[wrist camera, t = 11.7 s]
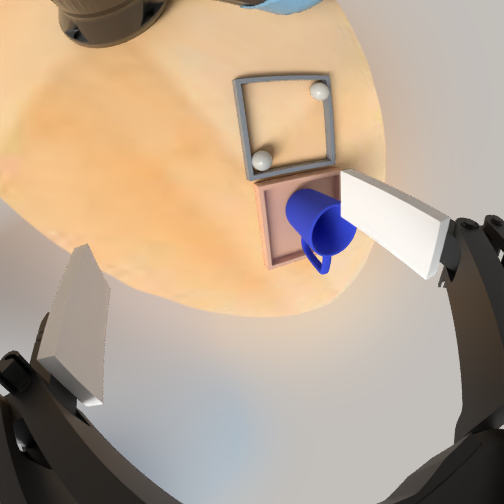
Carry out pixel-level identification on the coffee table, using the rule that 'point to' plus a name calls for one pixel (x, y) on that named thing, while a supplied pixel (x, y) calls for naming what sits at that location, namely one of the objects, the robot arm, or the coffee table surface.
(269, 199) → the terracotta dish
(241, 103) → the slate bin
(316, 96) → the pebble
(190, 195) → the coffee table surface
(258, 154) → the pebble
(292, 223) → the mug
